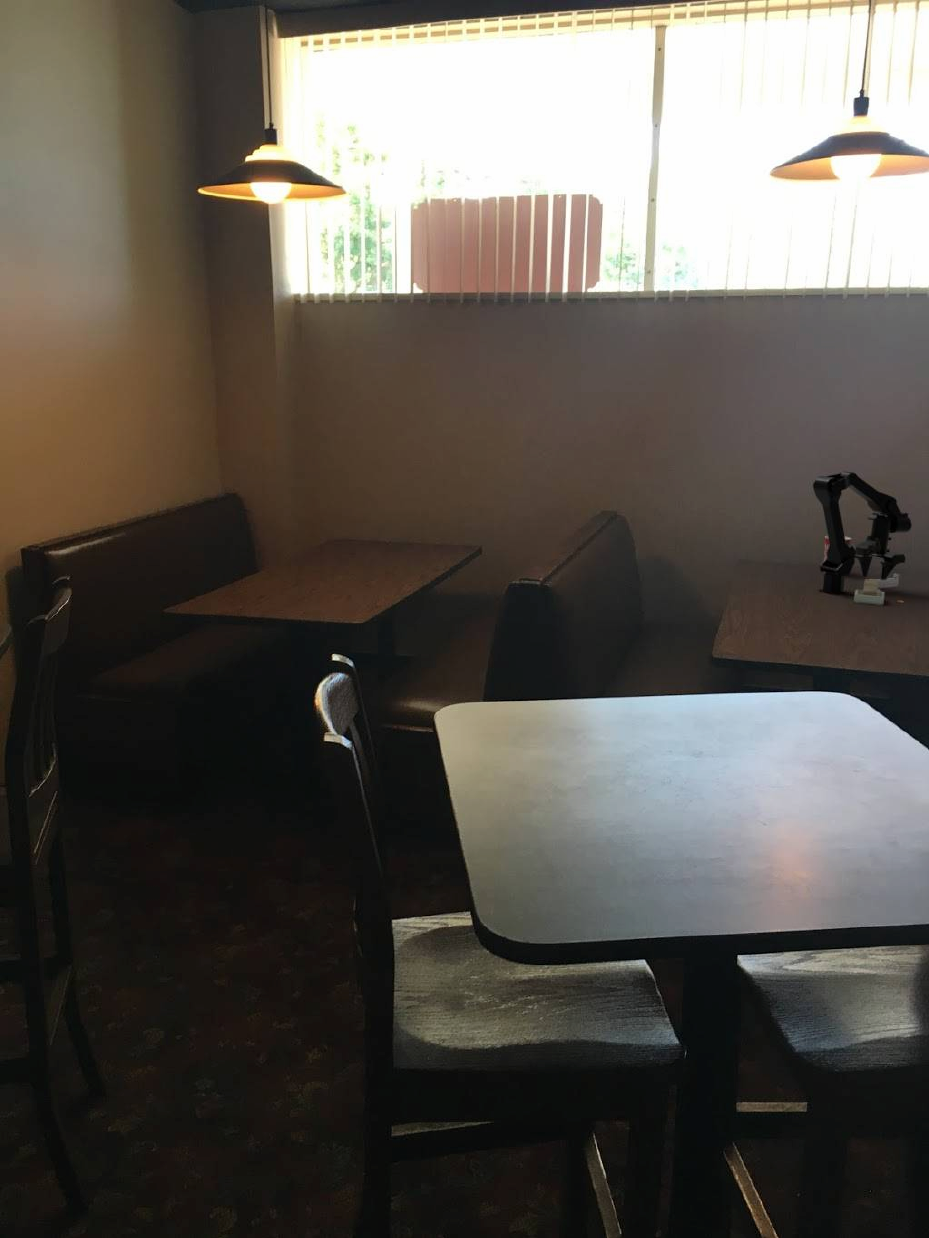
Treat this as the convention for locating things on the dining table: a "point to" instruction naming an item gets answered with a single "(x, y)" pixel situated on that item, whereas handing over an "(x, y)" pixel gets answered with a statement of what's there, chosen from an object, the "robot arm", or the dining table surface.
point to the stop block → (870, 587)
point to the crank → (888, 581)
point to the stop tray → (869, 598)
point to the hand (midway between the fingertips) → (873, 579)
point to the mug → (829, 545)
